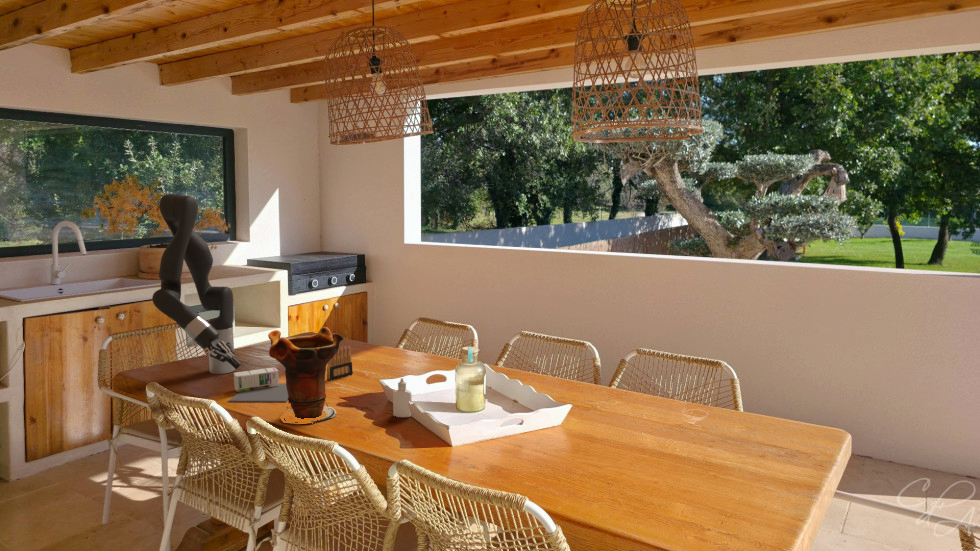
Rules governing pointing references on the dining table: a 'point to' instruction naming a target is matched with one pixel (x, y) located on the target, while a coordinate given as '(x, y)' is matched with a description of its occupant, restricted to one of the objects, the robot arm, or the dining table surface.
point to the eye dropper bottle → (401, 400)
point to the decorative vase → (306, 369)
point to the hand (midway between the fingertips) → (239, 366)
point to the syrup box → (256, 379)
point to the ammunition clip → (340, 364)
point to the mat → (263, 395)
